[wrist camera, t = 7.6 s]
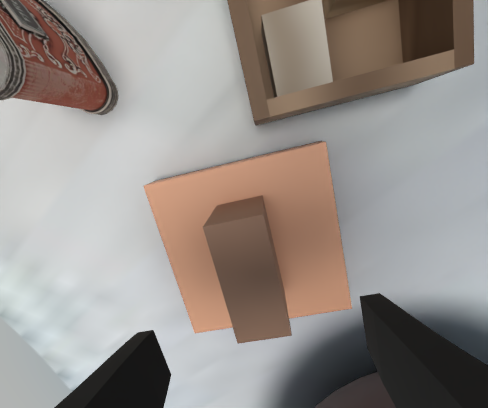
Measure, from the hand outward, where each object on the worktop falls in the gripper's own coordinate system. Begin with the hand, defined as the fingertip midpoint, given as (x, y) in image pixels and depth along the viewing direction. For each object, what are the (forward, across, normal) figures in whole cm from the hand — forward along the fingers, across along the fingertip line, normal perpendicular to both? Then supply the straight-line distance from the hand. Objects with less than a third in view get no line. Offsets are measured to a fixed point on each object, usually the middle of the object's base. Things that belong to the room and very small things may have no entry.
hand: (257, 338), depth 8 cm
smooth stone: (+11, -8, +21) cm, 25 cm away
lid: (+9, +1, 0) cm, 9 cm away
